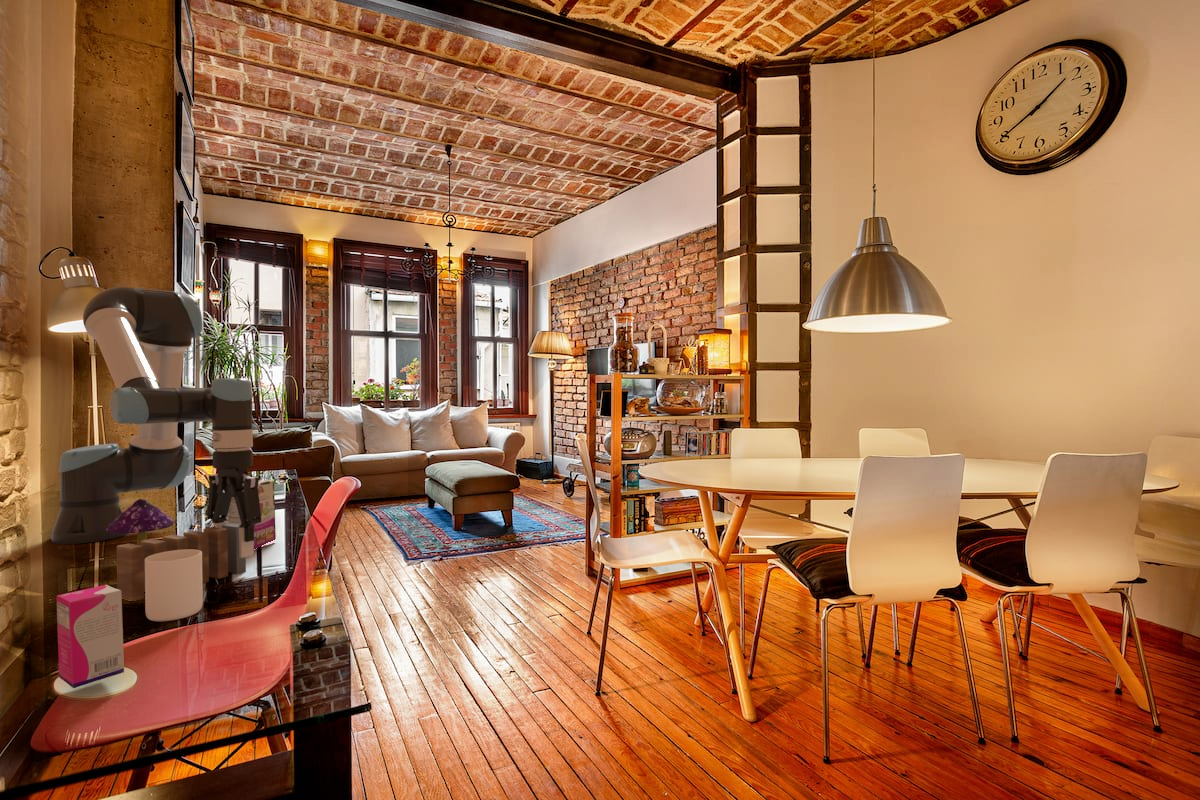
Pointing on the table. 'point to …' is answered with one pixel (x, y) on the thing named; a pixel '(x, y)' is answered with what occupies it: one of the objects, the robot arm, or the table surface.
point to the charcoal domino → (234, 549)
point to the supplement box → (90, 635)
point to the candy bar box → (266, 528)
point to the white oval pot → (173, 584)
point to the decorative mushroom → (140, 520)
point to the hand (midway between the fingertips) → (234, 554)
